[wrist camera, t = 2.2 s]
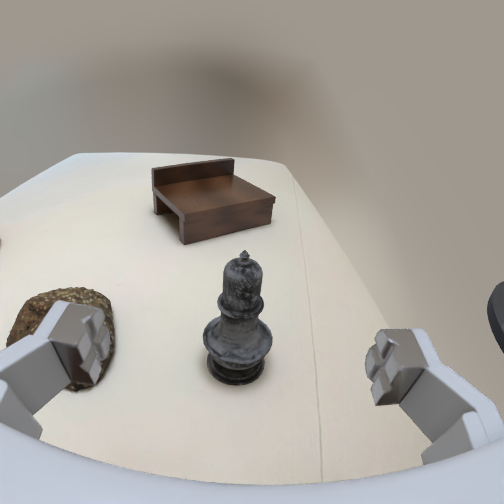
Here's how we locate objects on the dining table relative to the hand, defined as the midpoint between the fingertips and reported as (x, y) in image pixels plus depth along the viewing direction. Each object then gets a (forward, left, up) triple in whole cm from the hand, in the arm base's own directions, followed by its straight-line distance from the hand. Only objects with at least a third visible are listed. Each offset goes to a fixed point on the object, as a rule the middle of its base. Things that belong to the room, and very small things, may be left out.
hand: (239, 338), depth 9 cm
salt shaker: (-7, -10, -17) cm, 21 cm away
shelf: (-20, -38, -16) cm, 46 cm away
